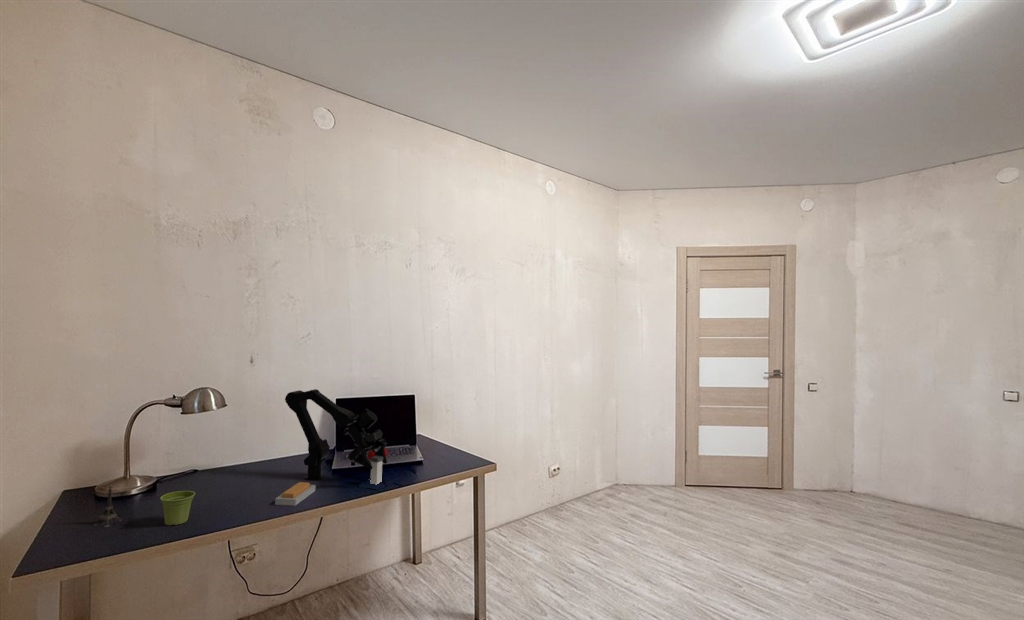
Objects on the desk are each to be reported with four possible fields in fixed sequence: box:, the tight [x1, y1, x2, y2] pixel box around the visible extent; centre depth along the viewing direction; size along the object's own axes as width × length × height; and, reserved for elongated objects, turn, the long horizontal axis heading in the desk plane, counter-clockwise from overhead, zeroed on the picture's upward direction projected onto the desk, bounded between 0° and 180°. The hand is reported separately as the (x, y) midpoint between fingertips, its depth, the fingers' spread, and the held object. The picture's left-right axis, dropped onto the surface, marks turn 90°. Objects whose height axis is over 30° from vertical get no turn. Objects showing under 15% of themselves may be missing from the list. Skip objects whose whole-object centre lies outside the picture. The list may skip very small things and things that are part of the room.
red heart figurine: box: [367, 447, 388, 462], centre depth 218 cm, size 9×7×10 cm
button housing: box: [274, 484, 317, 507], centre depth 180 cm, size 16×8×2 cm, turn 178°
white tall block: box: [369, 456, 383, 485], centre depth 198 cm, size 4×4×11 cm
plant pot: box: [160, 490, 196, 526], centre depth 156 cm, size 9×9×9 cm
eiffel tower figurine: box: [93, 483, 125, 529], centre depth 154 cm, size 15×10×13 cm
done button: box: [281, 481, 310, 498], centre depth 181 cm, size 13×4×2 cm, turn 178°
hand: (379, 466), depth 197 cm, fingers open, 9 cm apart
